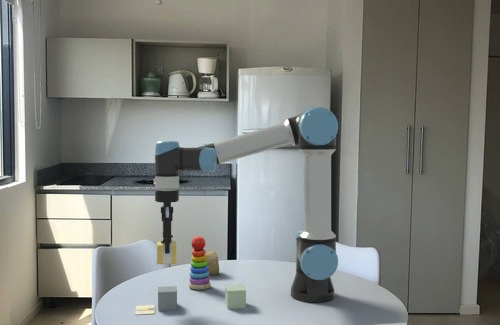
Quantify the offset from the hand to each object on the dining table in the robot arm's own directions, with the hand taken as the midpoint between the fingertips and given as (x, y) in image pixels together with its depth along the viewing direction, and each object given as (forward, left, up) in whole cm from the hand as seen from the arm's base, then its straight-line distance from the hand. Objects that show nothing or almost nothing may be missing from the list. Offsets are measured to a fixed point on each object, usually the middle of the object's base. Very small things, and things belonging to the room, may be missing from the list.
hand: (166, 260), depth 170 cm
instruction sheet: (+7, +2, -15) cm, 17 cm away
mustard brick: (0, 0, 0) cm, 0 cm away
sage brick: (-22, +2, -15) cm, 27 cm away
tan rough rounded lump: (-17, -37, -15) cm, 44 cm away
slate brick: (0, 0, -15) cm, 15 cm away
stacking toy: (-12, -20, -15) cm, 28 cm away
